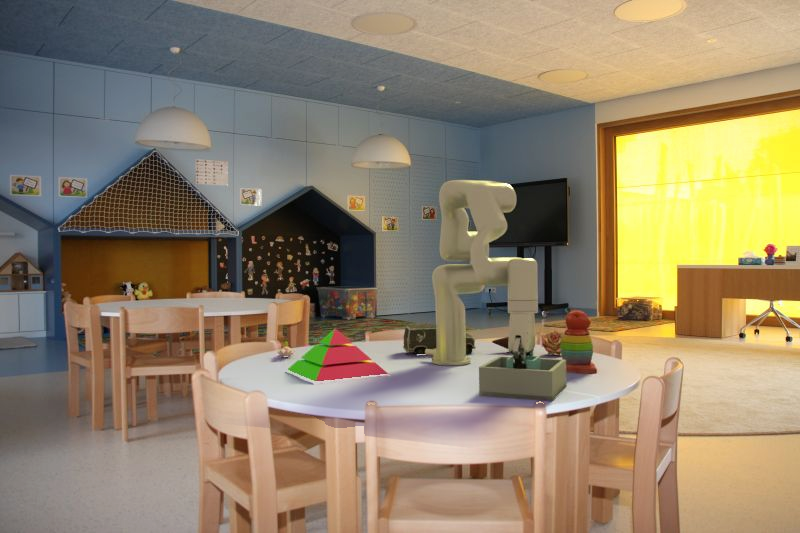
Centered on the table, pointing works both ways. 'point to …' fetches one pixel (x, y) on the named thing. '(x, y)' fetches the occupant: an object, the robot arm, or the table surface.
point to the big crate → (522, 380)
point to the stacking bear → (577, 344)
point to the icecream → (503, 342)
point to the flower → (552, 342)
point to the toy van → (427, 339)
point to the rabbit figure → (286, 350)
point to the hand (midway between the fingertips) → (523, 376)
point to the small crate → (526, 362)
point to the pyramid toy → (335, 360)
